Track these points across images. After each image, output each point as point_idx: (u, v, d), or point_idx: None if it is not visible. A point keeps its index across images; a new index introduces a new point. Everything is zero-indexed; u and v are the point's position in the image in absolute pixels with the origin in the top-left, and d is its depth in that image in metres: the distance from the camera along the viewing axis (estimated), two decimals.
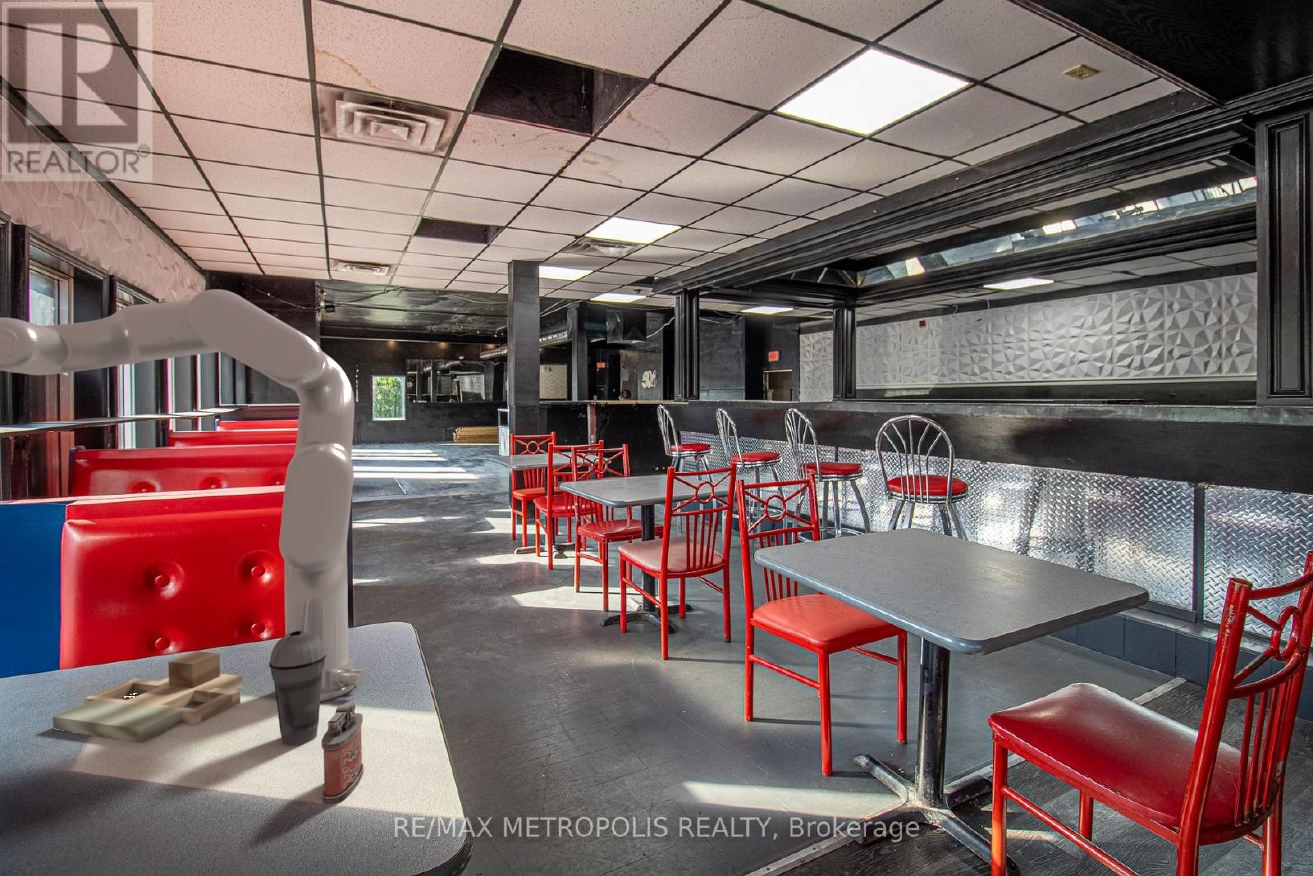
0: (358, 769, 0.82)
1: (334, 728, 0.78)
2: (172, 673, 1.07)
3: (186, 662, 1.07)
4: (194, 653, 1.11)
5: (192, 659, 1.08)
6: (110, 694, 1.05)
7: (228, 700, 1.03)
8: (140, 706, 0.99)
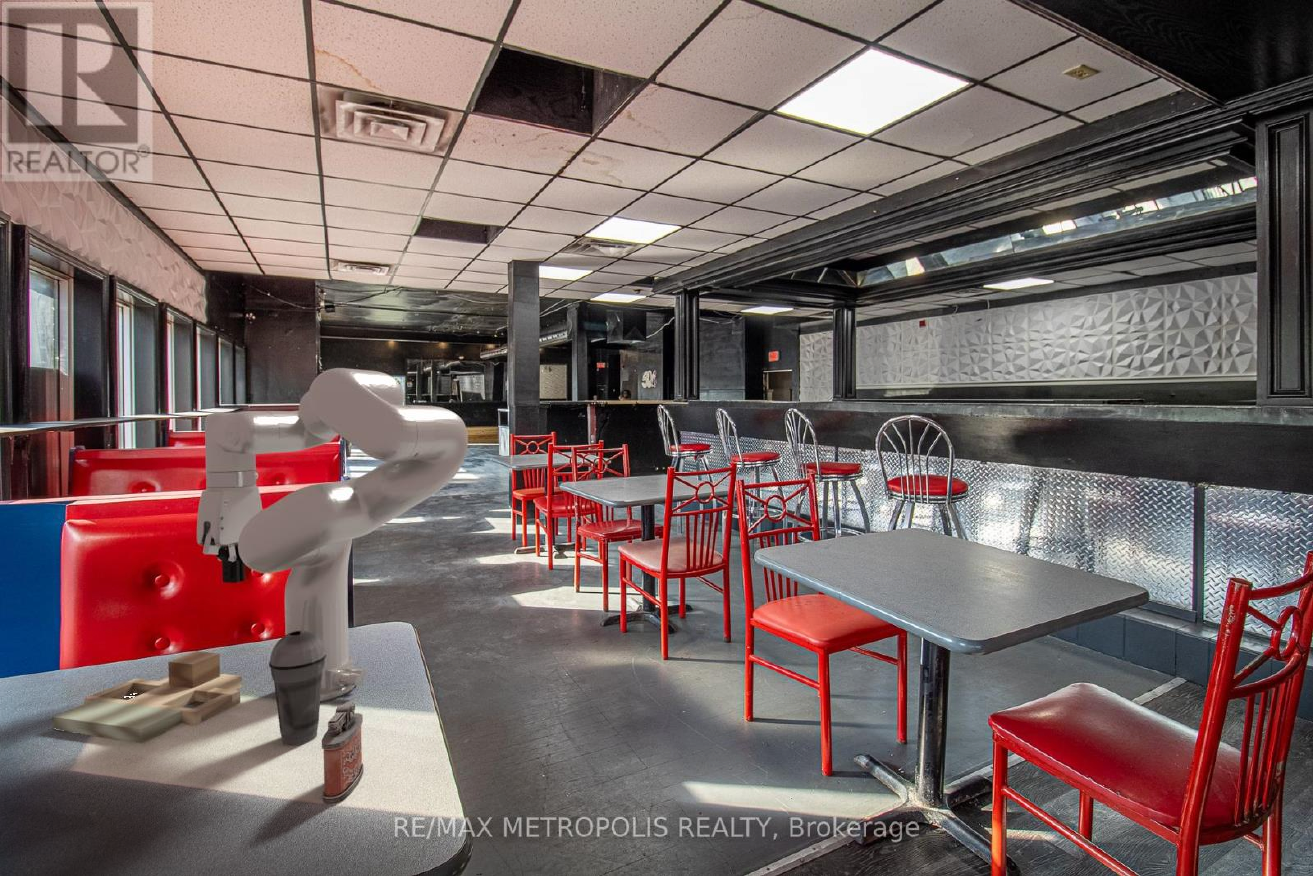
0: (358, 769, 0.82)
1: (334, 728, 0.78)
2: (172, 673, 1.07)
3: (186, 662, 1.07)
4: (194, 653, 1.11)
5: (192, 659, 1.08)
6: (110, 694, 1.05)
7: (228, 700, 1.03)
8: (140, 706, 0.99)
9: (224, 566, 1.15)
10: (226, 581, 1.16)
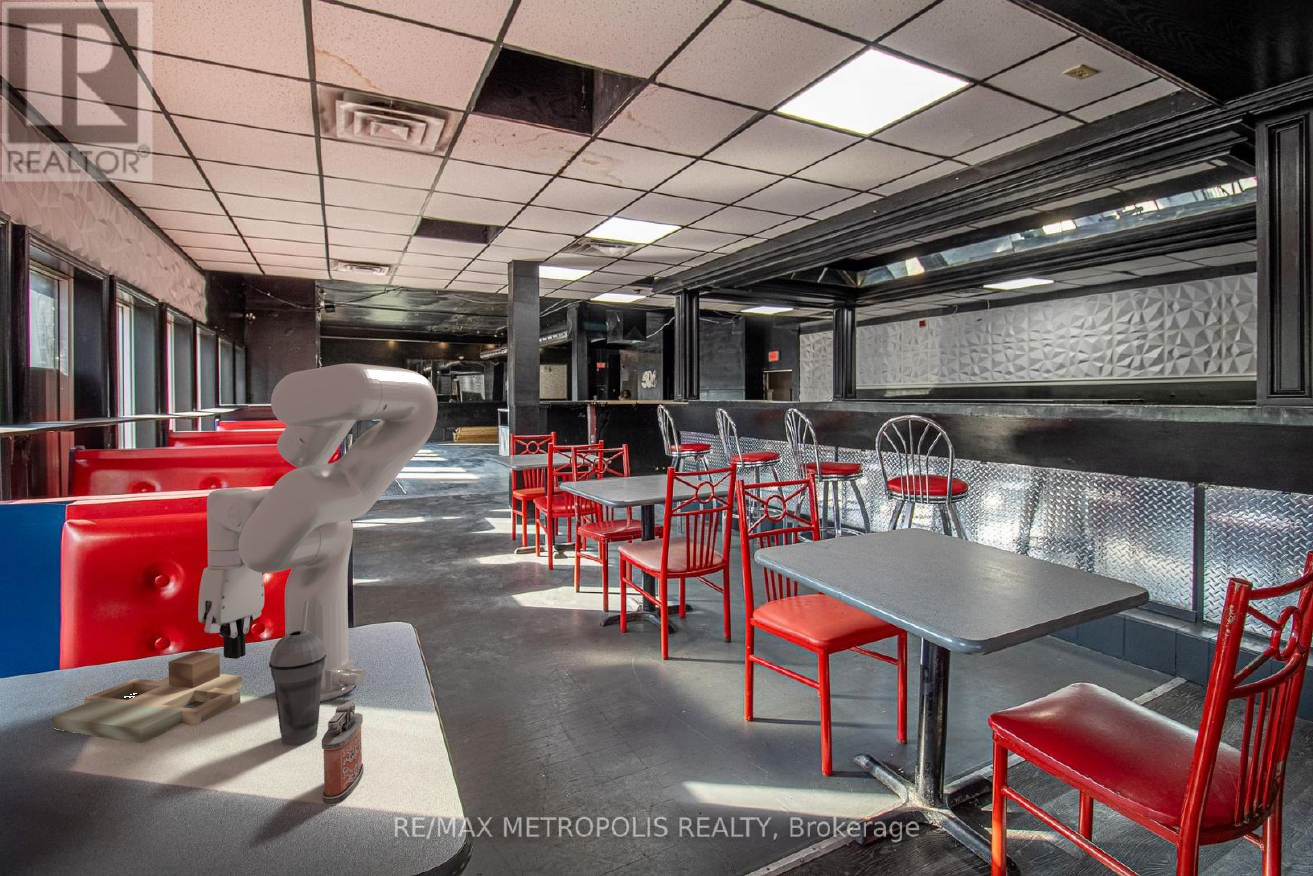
0: (358, 769, 0.82)
1: (334, 728, 0.78)
2: (172, 673, 1.07)
3: (186, 662, 1.07)
4: (194, 653, 1.11)
5: (192, 659, 1.08)
6: (110, 694, 1.05)
7: (228, 700, 1.03)
8: (140, 706, 0.99)
9: (225, 642, 1.16)
10: (227, 656, 1.16)
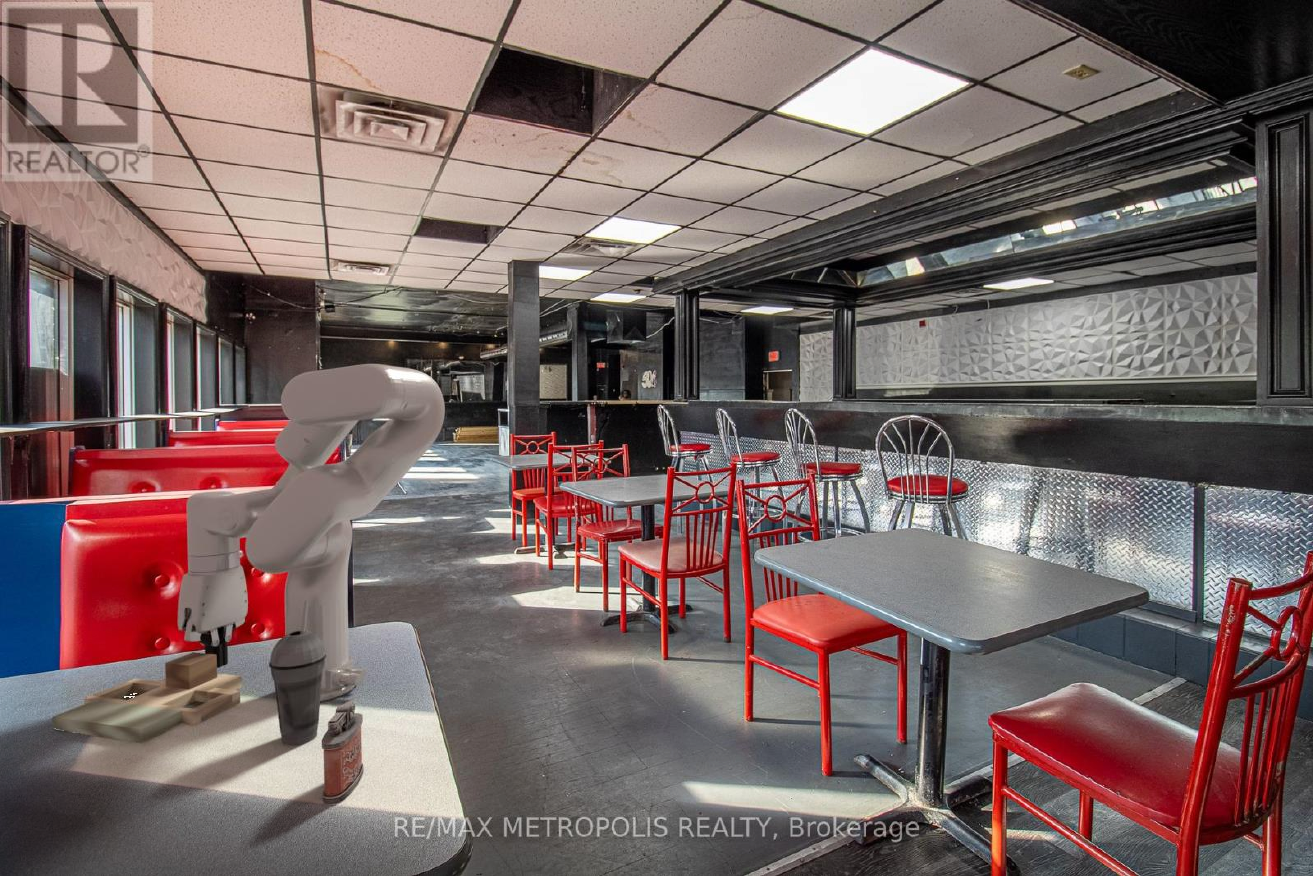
0: (358, 769, 0.82)
1: (334, 728, 0.78)
2: (168, 675, 1.07)
3: (183, 663, 1.07)
4: (191, 654, 1.11)
5: (189, 660, 1.08)
6: (110, 694, 1.05)
7: (228, 700, 1.03)
8: (140, 706, 0.99)
9: (207, 650, 1.12)
10: None
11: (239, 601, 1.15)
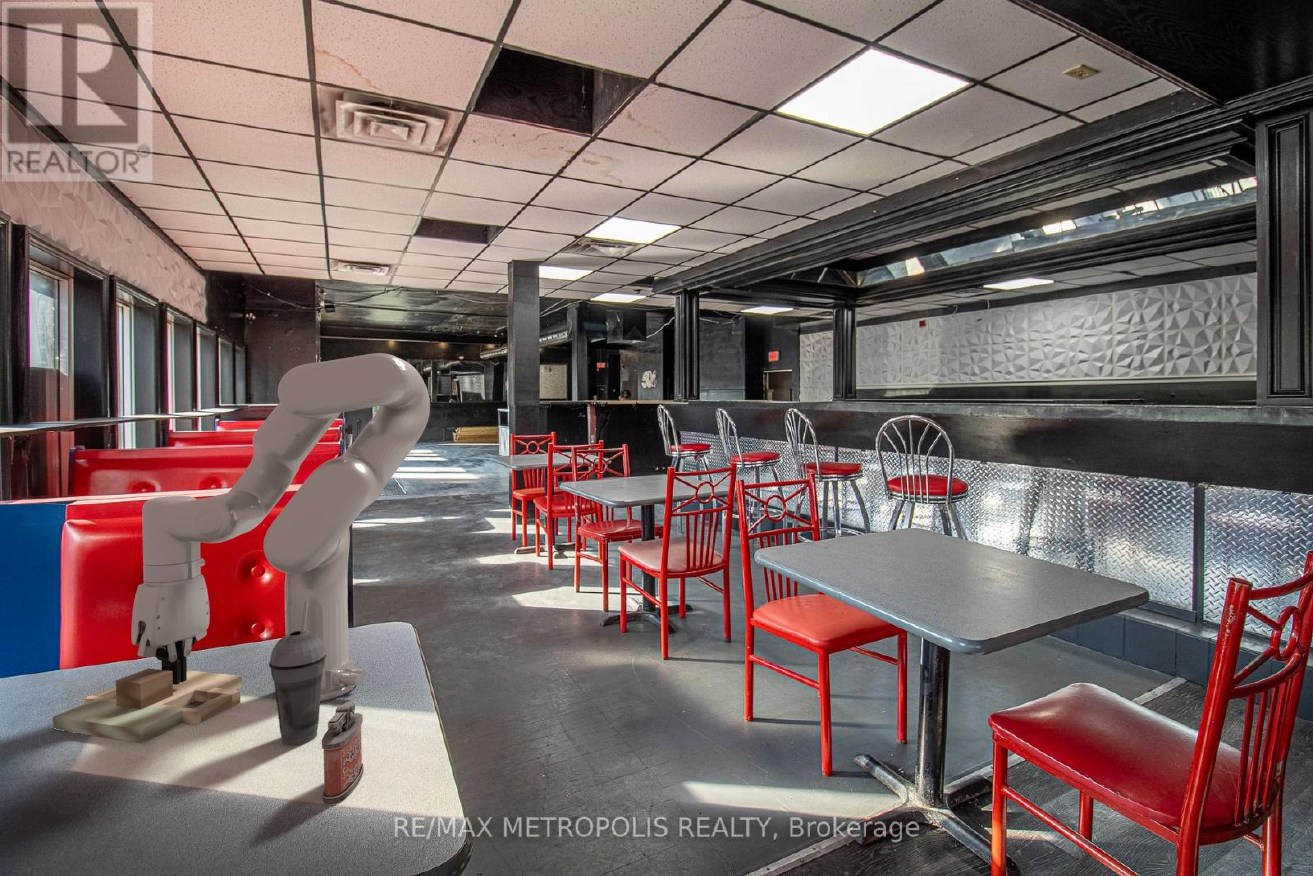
0: (358, 769, 0.82)
1: (334, 728, 0.78)
2: (119, 693, 0.99)
3: (134, 680, 0.99)
4: (145, 670, 1.03)
5: (142, 677, 1.01)
6: (110, 694, 1.05)
7: (228, 700, 1.03)
8: None
9: (163, 666, 1.05)
10: None
11: (199, 613, 1.08)
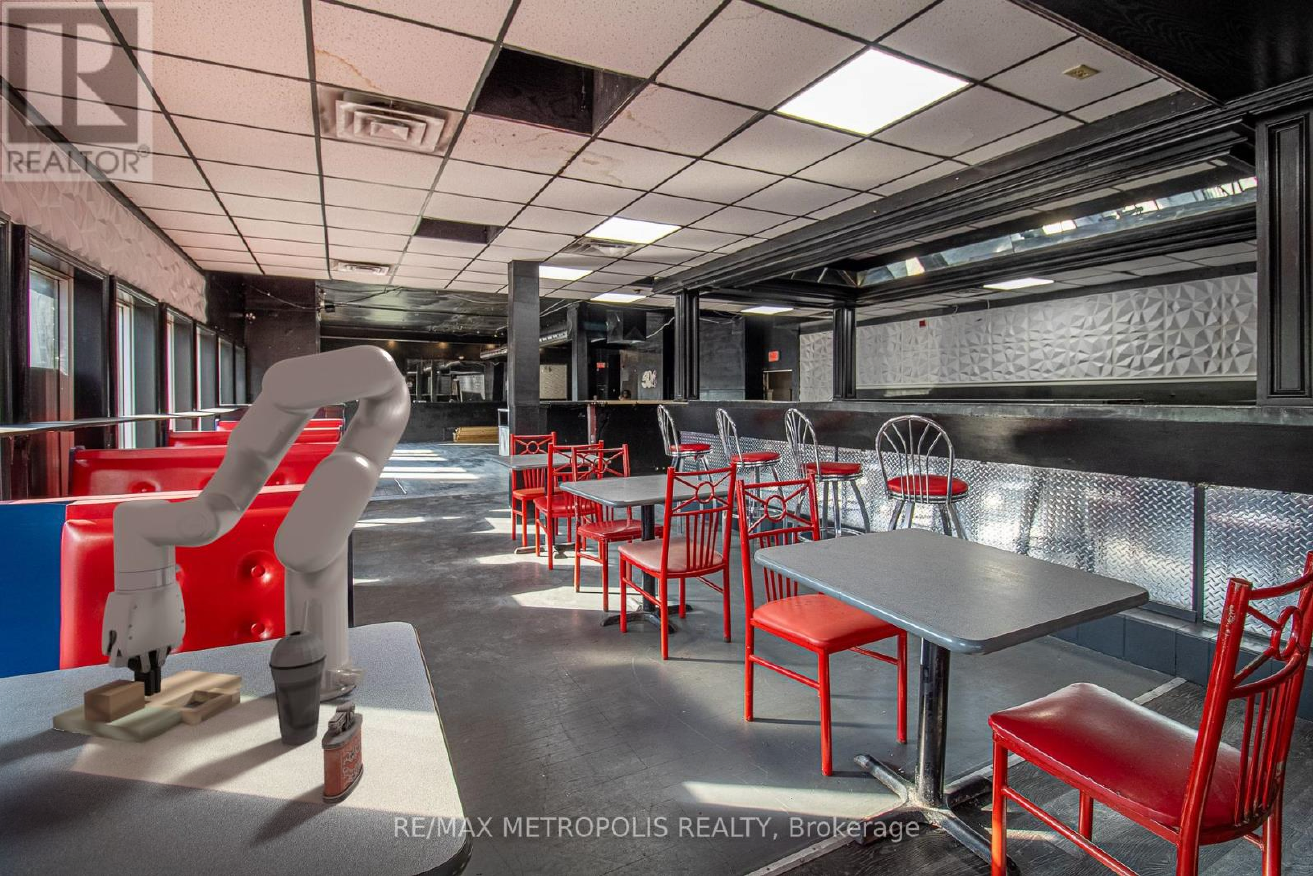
0: (358, 769, 0.82)
1: (334, 728, 0.78)
2: (87, 706, 0.95)
3: (103, 692, 0.95)
4: (116, 682, 0.99)
5: (111, 689, 0.96)
6: None
7: (228, 700, 1.03)
8: None
9: (136, 677, 1.00)
10: None
11: (174, 621, 1.03)
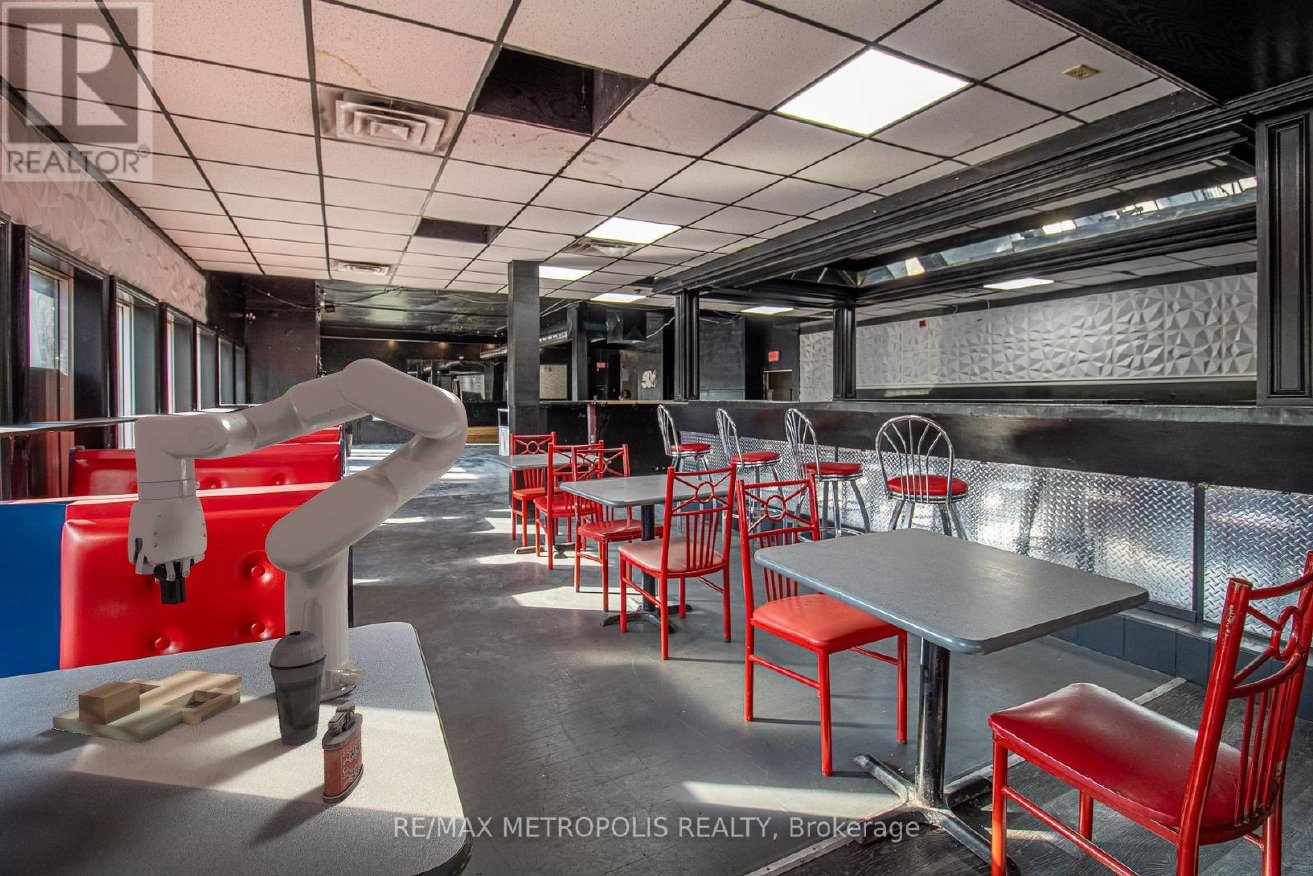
0: (358, 769, 0.82)
1: (334, 728, 0.78)
2: (82, 708, 0.94)
3: (98, 694, 0.94)
4: (111, 684, 0.98)
5: (106, 691, 0.96)
6: None
7: (228, 700, 1.03)
8: (140, 706, 0.99)
9: (162, 586, 1.04)
10: (165, 603, 1.04)
11: (197, 534, 1.07)
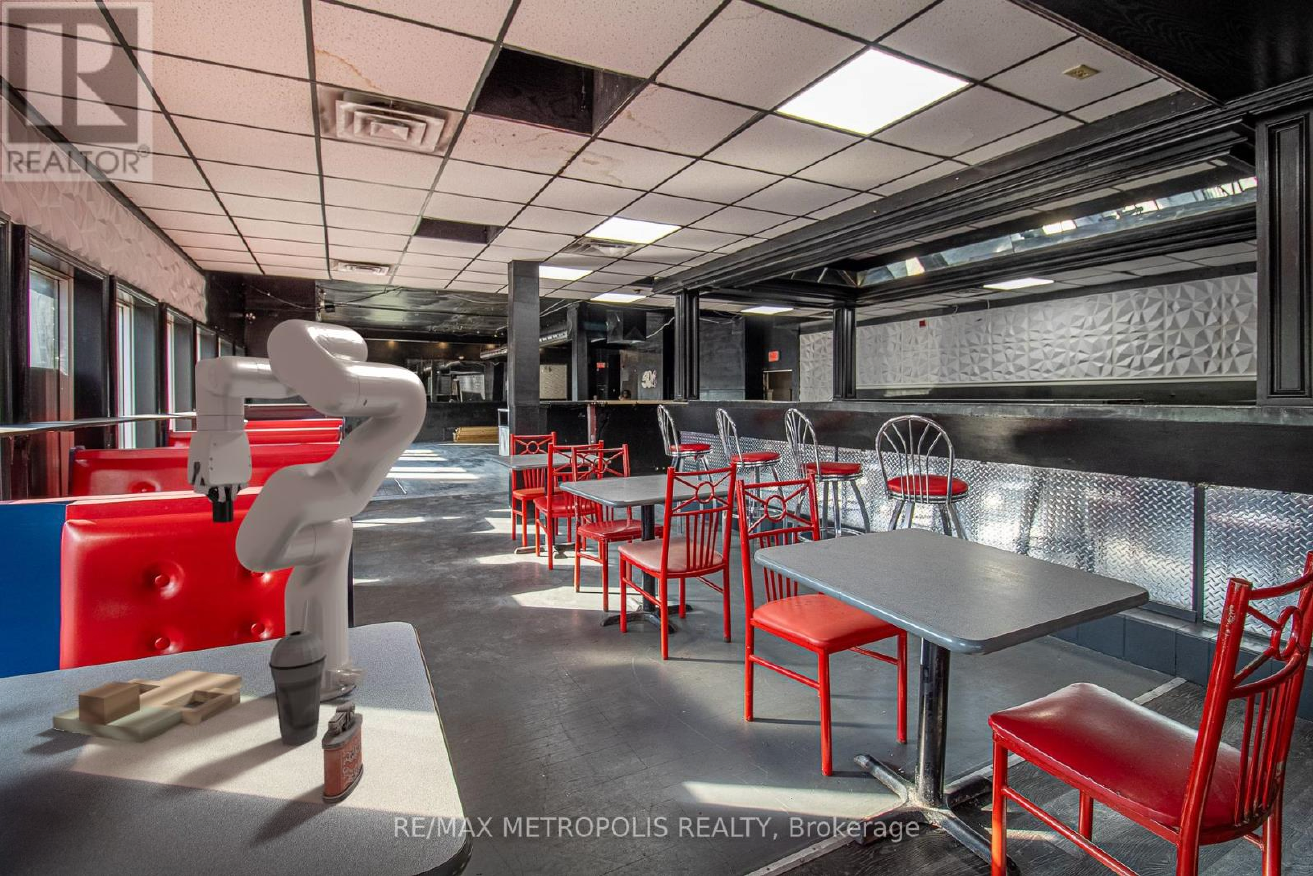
0: (358, 769, 0.82)
1: (334, 728, 0.78)
2: (82, 708, 0.94)
3: (98, 694, 0.94)
4: (111, 684, 0.98)
5: (106, 691, 0.96)
6: None
7: (228, 700, 1.03)
8: (140, 706, 0.99)
9: (214, 506, 1.20)
10: (216, 521, 1.21)
11: (244, 464, 1.23)
